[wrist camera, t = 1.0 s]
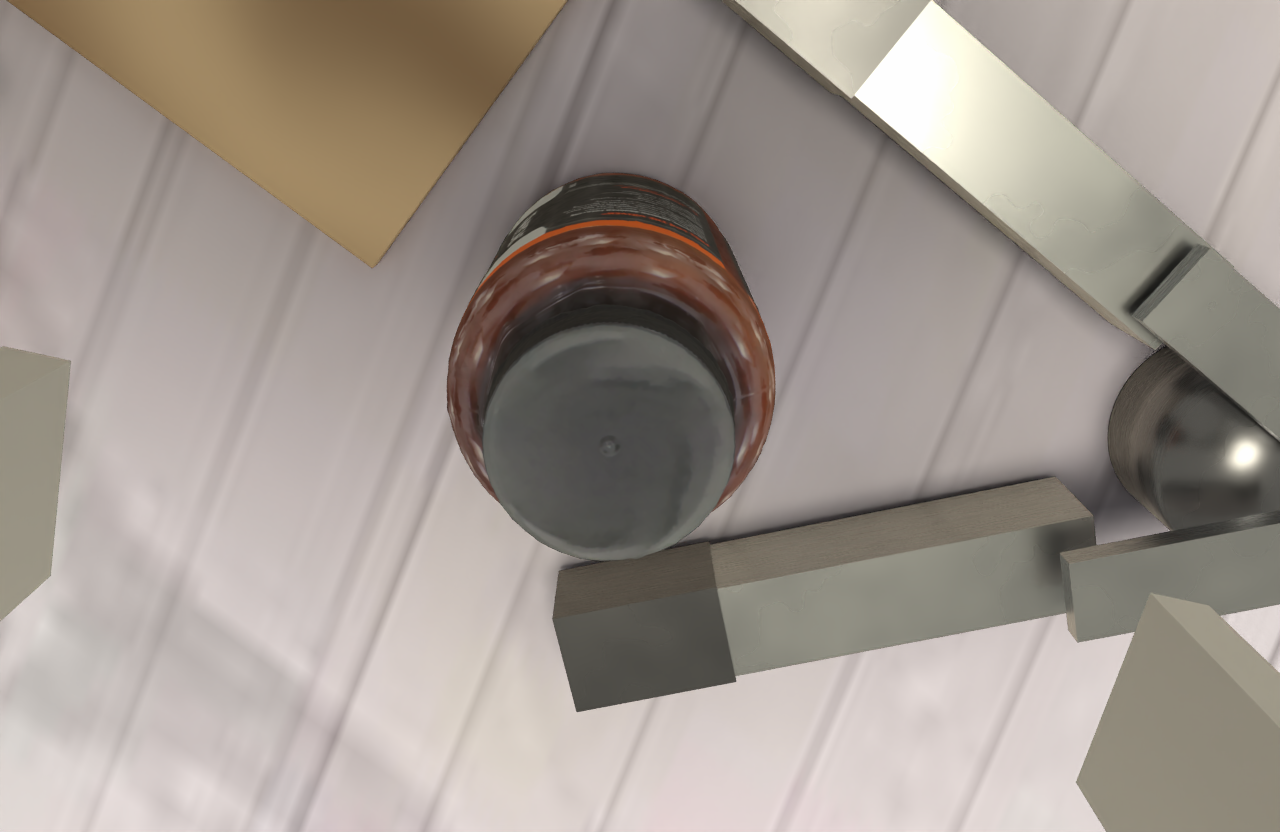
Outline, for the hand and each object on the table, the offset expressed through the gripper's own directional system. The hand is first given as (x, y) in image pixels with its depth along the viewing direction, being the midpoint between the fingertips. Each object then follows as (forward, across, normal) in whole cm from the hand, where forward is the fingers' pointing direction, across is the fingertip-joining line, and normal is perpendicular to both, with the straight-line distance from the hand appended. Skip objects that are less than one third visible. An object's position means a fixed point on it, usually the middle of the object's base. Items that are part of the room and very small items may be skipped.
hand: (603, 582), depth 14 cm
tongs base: (+16, +9, +4) cm, 18 cm away
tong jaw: (+15, +8, -5) cm, 18 cm away
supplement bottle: (+16, 0, 0) cm, 16 cm away
